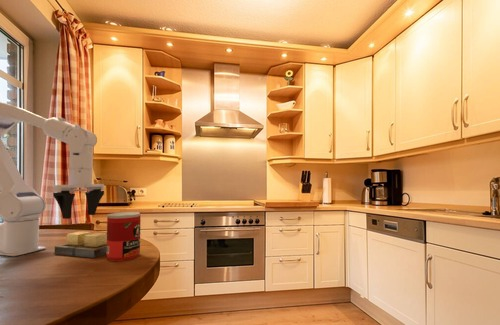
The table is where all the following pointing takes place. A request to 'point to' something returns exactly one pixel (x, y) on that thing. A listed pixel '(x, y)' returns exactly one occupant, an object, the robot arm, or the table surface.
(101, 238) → the honey wood cube
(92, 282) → the table surface
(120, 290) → the table surface
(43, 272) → the table surface
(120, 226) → the canned food
